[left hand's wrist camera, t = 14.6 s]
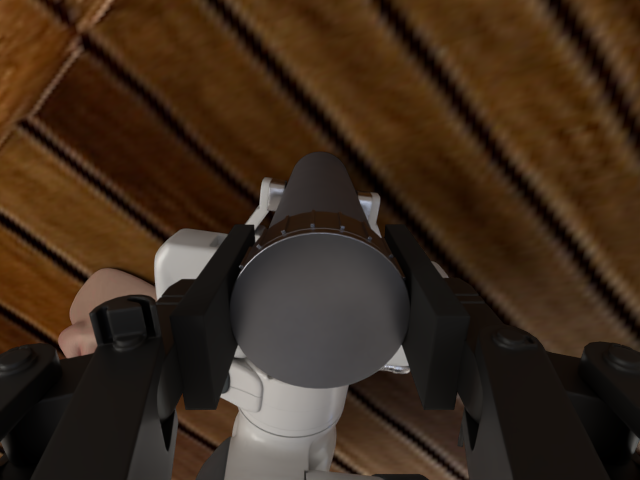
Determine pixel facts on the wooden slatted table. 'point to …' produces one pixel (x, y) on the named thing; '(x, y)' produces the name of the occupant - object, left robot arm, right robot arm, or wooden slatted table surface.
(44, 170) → the wooden slatted table surface
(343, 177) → the dark grey cylinder
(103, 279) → the anatomical model
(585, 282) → the wooden slatted table surface
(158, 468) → the left robot arm
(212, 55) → the wooden slatted table surface
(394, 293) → the lid
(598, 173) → the wooden slatted table surface
